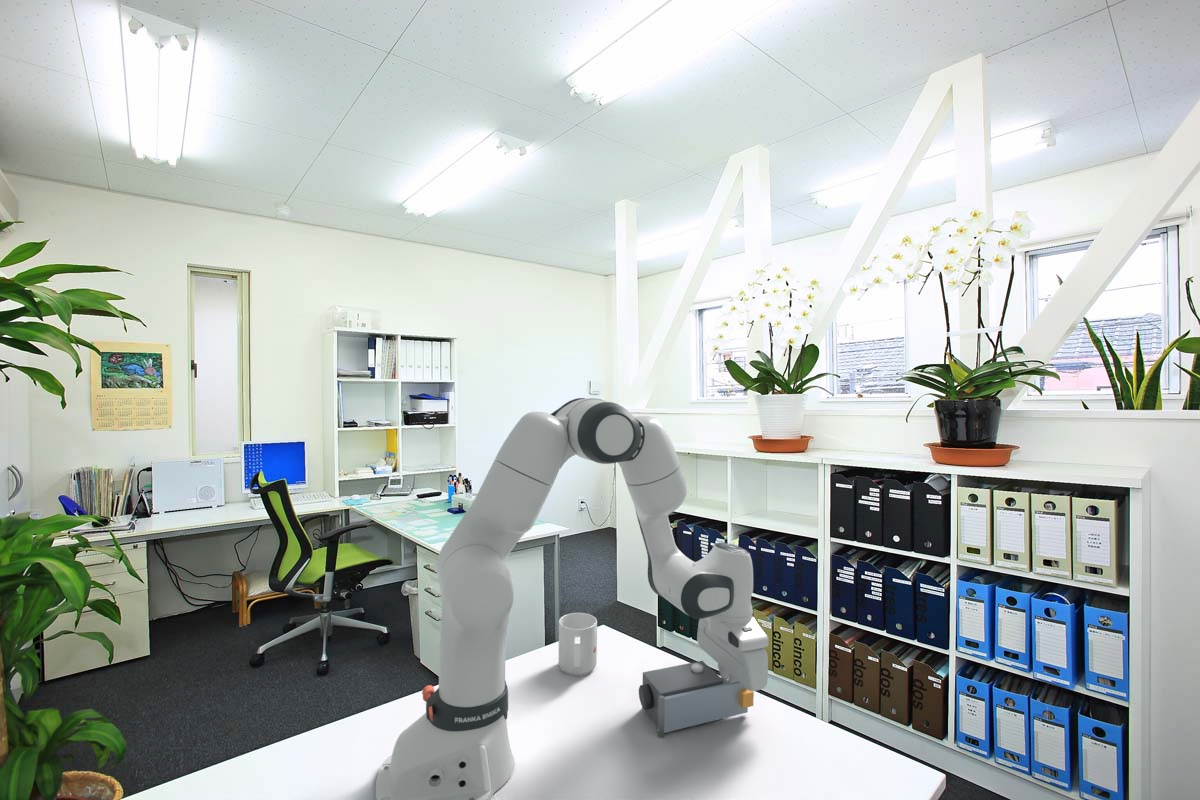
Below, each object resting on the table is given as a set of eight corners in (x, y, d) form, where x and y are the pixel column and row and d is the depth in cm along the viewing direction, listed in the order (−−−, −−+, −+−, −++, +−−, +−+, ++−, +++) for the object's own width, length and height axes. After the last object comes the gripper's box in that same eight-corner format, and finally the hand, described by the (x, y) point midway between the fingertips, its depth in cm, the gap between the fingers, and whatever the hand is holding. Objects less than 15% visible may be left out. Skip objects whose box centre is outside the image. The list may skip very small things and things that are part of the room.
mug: (559, 657, 132) (559, 612, 131) (596, 657, 132) (596, 612, 131) (556, 685, 120) (557, 635, 119) (597, 685, 120) (597, 636, 119)
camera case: (654, 733, 104) (655, 690, 104) (636, 709, 111) (637, 669, 111) (722, 716, 109) (723, 676, 109) (701, 695, 117) (702, 657, 116)
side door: (662, 742, 101) (663, 703, 101) (656, 734, 104) (657, 696, 103) (753, 719, 108) (753, 683, 108) (745, 712, 111) (746, 676, 110)
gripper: (690, 604, 121) (689, 666, 122) (746, 647, 102) (745, 720, 102) (715, 601, 123) (714, 661, 124) (774, 642, 104) (772, 713, 105)
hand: (728, 688), depth 113 cm, fingers closed
